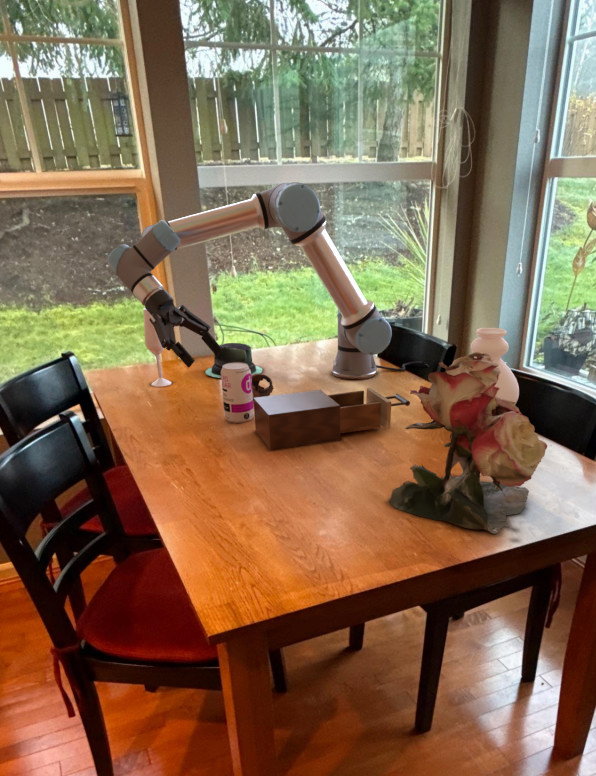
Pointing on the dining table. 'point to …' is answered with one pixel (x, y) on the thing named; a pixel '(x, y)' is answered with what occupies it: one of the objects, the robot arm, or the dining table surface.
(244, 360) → the dark green rounded hat
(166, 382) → the champagne flute
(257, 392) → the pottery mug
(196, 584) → the dining table surface
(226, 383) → the supplement can
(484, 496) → the rose bouquet
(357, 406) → the drawer
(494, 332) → the decorative vase
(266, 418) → the cabinet
